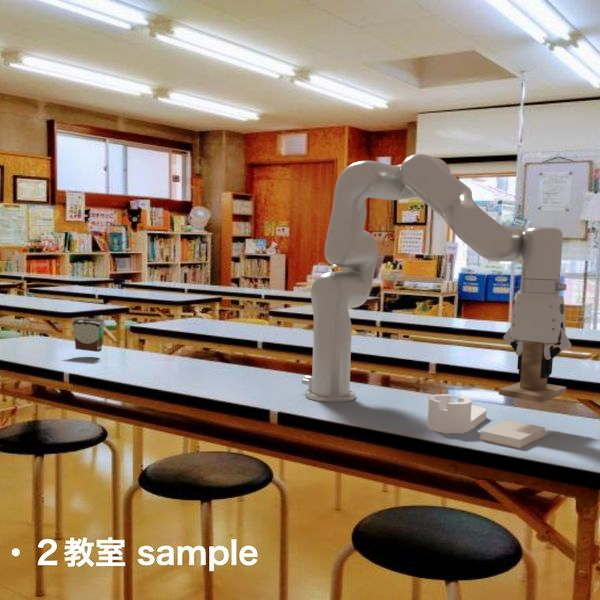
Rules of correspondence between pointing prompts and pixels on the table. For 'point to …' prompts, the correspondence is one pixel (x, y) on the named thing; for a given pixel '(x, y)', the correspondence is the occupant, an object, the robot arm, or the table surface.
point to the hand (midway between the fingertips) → (534, 374)
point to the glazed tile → (512, 434)
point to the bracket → (453, 414)
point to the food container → (88, 334)
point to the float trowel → (532, 377)
